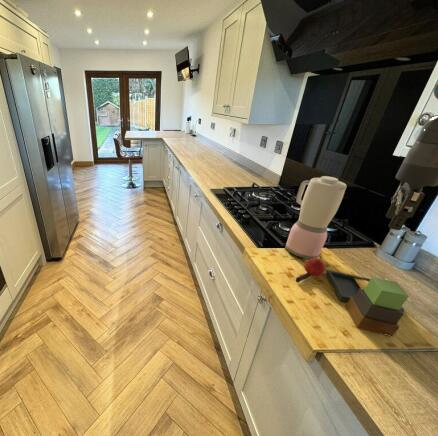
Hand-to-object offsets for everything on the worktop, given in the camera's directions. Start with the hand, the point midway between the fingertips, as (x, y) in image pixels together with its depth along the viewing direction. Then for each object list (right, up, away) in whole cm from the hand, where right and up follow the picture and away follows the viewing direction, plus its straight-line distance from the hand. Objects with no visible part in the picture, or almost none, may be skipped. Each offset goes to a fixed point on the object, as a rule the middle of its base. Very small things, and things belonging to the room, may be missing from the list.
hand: (391, 223), depth 63 cm
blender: (-2, -12, +36) cm, 39 cm away
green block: (-2, -21, +1) cm, 21 cm away
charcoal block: (-2, -24, +3) cm, 25 cm away
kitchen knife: (-6, -18, +21) cm, 29 cm away
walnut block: (-3, -28, +4) cm, 29 cm away
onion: (-7, -20, +22) cm, 30 cm away
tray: (+4, -23, +15) cm, 28 cm away
